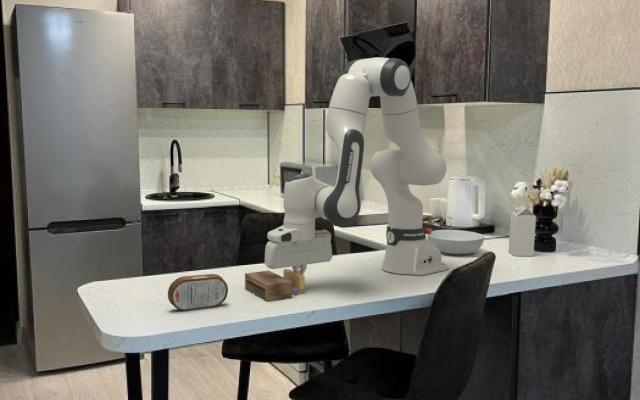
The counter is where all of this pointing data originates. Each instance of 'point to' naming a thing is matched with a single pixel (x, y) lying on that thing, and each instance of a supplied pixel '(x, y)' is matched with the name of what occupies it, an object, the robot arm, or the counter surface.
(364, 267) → the counter surface
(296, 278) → the grey board with lip
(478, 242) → the serving bowl
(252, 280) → the overhang shelf
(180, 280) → the tin
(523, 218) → the milk carton
